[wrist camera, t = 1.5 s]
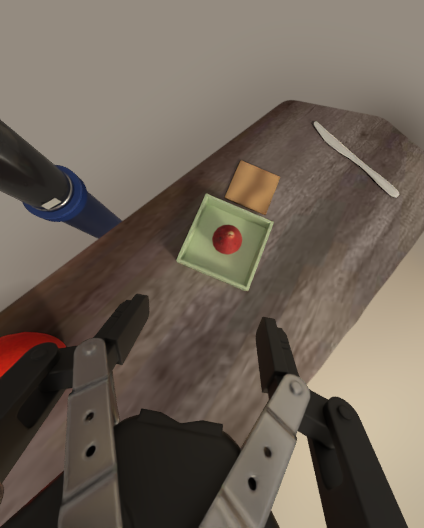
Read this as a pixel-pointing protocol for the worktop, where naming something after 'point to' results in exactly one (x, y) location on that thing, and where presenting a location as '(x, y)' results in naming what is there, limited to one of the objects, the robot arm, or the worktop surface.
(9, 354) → the apple
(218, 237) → the red rounded piece
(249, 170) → the cork mat
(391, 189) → the butter knife
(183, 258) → the tray
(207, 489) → the robot arm
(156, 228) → the worktop surface
